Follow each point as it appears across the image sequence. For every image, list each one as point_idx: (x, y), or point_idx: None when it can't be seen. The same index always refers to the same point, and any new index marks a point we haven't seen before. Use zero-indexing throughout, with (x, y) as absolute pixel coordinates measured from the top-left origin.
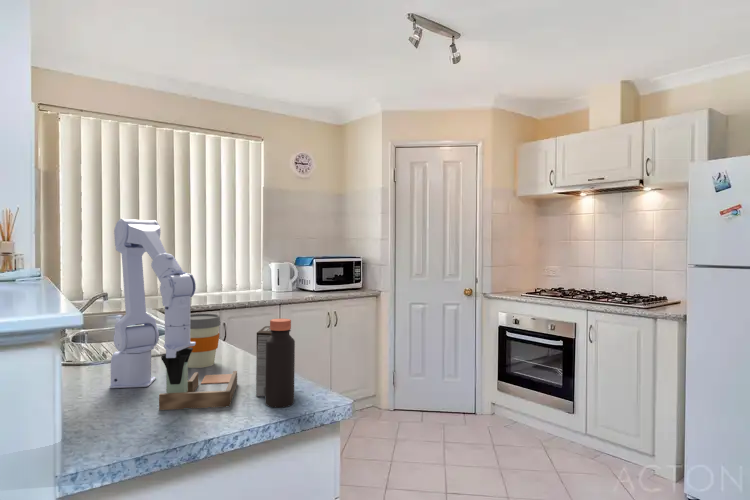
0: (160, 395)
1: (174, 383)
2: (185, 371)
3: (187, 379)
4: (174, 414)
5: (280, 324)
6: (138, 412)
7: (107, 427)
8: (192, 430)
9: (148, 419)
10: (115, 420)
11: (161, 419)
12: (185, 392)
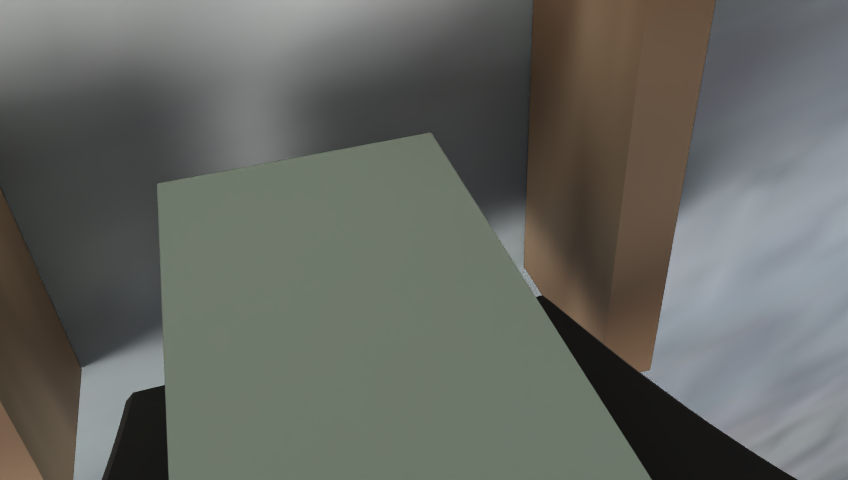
0: (646, 351)
1: None
2: (471, 423)
3: (183, 305)
4: (737, 55)
5: None
6: None
7: (831, 396)
8: None
9: (784, 231)
10: (716, 423)
11: (830, 125)
12: (644, 100)
